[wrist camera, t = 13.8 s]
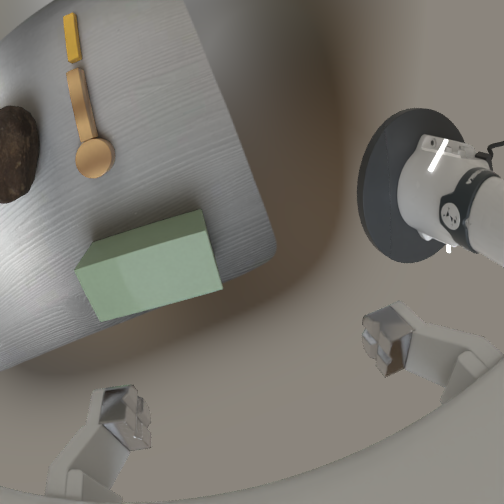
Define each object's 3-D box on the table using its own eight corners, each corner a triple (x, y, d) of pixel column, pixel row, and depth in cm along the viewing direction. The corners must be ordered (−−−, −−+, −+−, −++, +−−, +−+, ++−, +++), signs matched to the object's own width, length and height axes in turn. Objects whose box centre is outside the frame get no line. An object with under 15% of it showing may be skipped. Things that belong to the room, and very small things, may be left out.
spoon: (62, 80, 26) (54, 77, 23) (95, 65, 26) (89, 62, 24) (86, 180, 31) (80, 184, 29) (119, 168, 32) (115, 171, 30)
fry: (76, 15, 22) (73, 12, 21) (82, 59, 25) (78, 57, 24) (66, 19, 22) (62, 16, 21) (72, 63, 25) (68, 61, 24)
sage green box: (201, 208, 36) (206, 230, 29) (215, 258, 39) (223, 289, 32) (92, 242, 35) (73, 270, 27) (112, 287, 38) (100, 322, 30)
